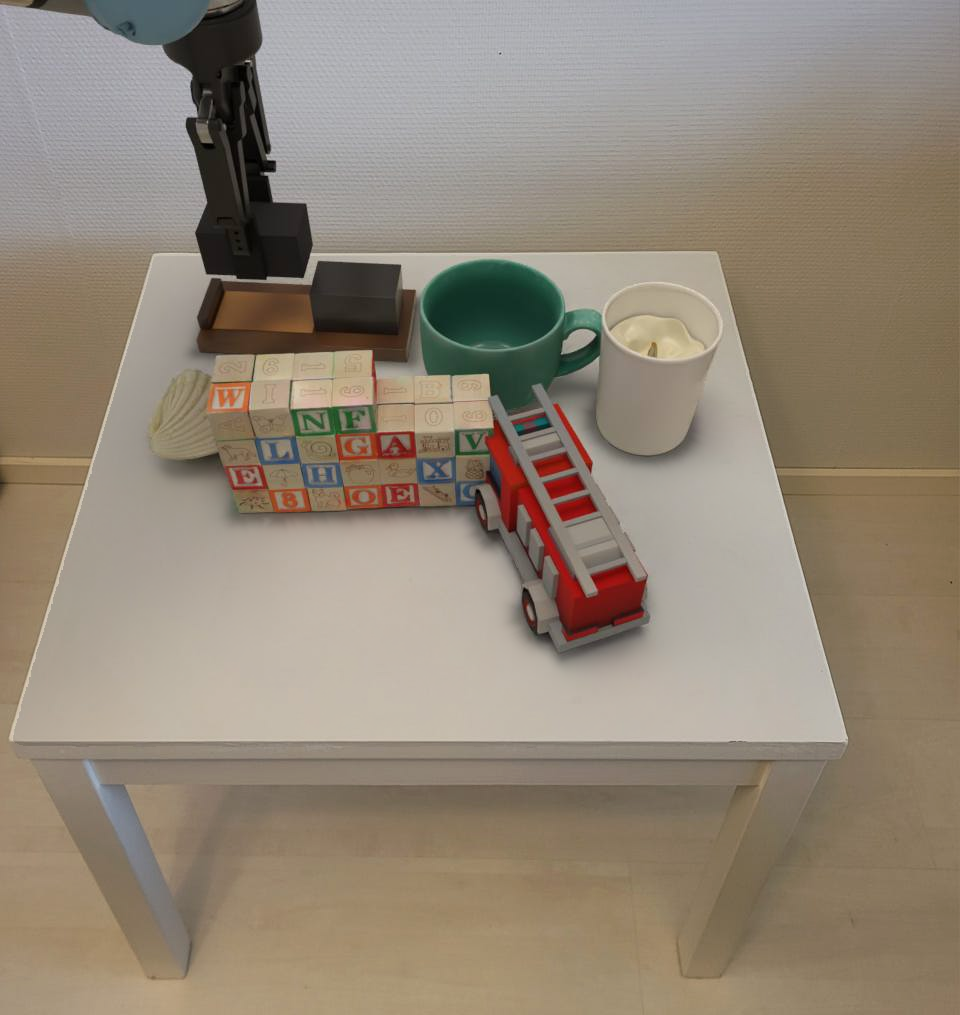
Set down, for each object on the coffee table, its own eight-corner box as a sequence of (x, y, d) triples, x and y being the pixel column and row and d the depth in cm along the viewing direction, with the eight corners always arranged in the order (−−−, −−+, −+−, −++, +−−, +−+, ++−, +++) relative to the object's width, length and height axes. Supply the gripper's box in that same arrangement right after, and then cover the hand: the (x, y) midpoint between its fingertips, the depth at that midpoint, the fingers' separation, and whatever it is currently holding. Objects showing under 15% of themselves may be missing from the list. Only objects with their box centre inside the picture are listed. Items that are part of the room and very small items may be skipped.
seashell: (125, 410, 84) (188, 345, 84) (199, 467, 89) (259, 406, 88) (129, 445, 77) (198, 375, 77) (209, 505, 82) (275, 439, 82)
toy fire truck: (558, 460, 84) (567, 376, 76) (657, 634, 73) (679, 556, 65) (462, 487, 82) (460, 404, 74) (548, 670, 71) (557, 595, 63)
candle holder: (647, 370, 91) (668, 266, 82) (719, 433, 86) (749, 330, 77) (565, 411, 88) (577, 308, 78) (635, 479, 83) (656, 377, 73)
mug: (408, 420, 87) (403, 340, 79) (438, 330, 95) (436, 249, 87) (591, 446, 85) (603, 367, 78) (606, 352, 93) (618, 272, 85)
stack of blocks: (489, 450, 84) (491, 344, 75) (493, 506, 81) (495, 401, 71) (244, 458, 84) (214, 352, 74) (236, 515, 80) (203, 410, 70)
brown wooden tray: (199, 352, 92) (185, 302, 88) (220, 292, 98) (208, 242, 93) (407, 362, 92) (403, 312, 87) (416, 301, 97) (414, 251, 93)
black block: (206, 274, 88) (194, 232, 84) (218, 241, 91) (208, 199, 87) (304, 278, 87) (296, 236, 84) (313, 244, 90) (306, 203, 87)
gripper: (226, 57, 65) (280, 323, 83) (277, -54, 76) (315, 202, 94) (116, 53, 65) (194, 320, 83) (183, -57, 76) (239, 199, 95)
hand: (258, 257), depth 89 cm, fingers closed on black block, 5 cm apart
